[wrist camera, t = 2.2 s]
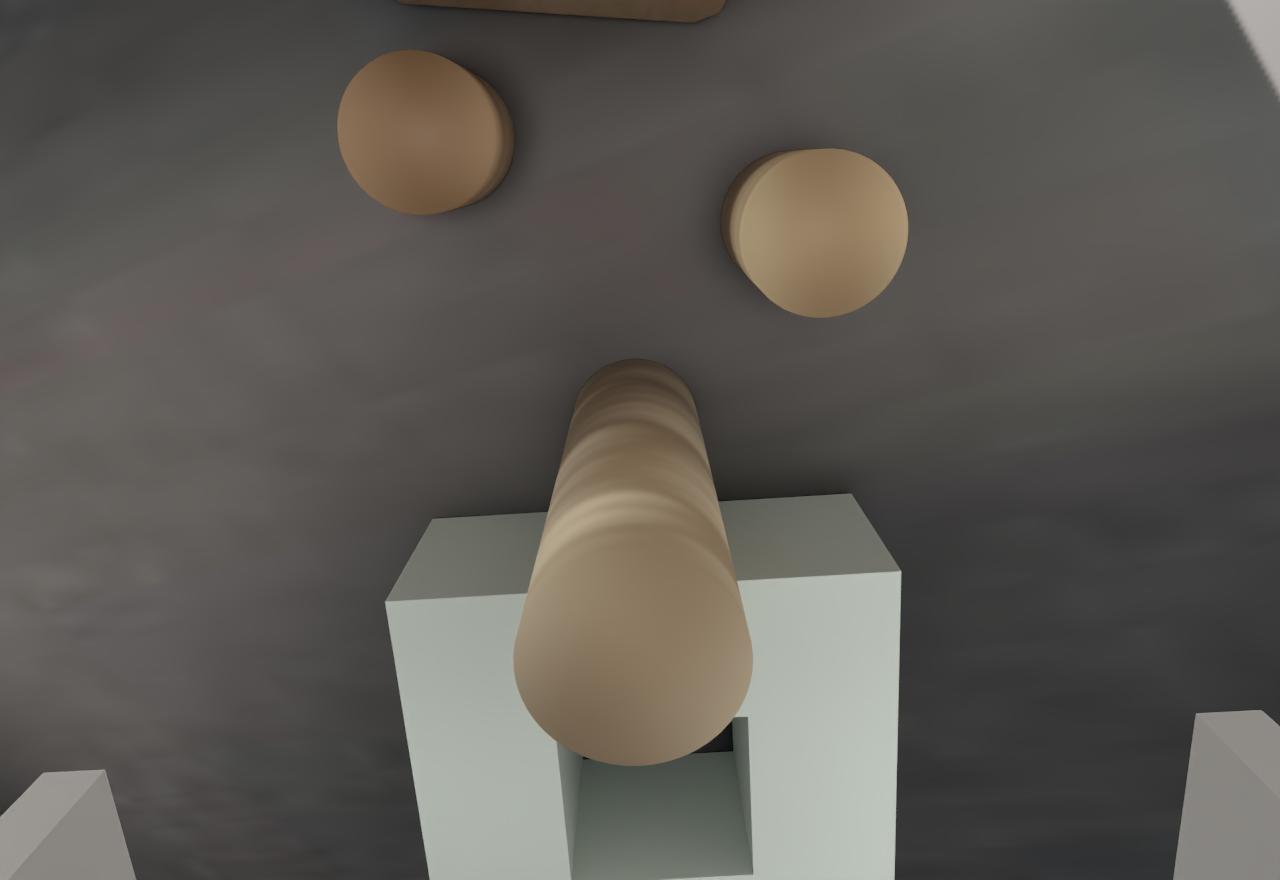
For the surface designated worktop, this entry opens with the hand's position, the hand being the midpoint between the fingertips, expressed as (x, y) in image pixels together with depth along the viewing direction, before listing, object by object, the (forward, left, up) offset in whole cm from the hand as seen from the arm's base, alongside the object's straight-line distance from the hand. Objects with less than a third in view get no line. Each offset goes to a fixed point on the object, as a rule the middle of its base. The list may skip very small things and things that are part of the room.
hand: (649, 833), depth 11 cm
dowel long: (0, 0, -19) cm, 19 cm away
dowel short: (-5, +9, -19) cm, 22 cm away
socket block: (0, -10, -19) cm, 22 cm away
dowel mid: (+5, +6, -19) cm, 21 cm away
